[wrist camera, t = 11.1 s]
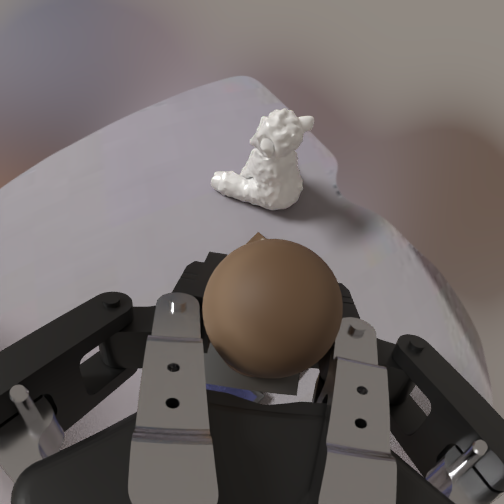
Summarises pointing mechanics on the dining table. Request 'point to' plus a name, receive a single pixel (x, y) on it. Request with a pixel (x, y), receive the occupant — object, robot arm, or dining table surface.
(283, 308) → the stamp
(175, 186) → the dining table surface
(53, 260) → the dining table surface
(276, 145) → the seated beast figurine
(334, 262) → the dining table surface
